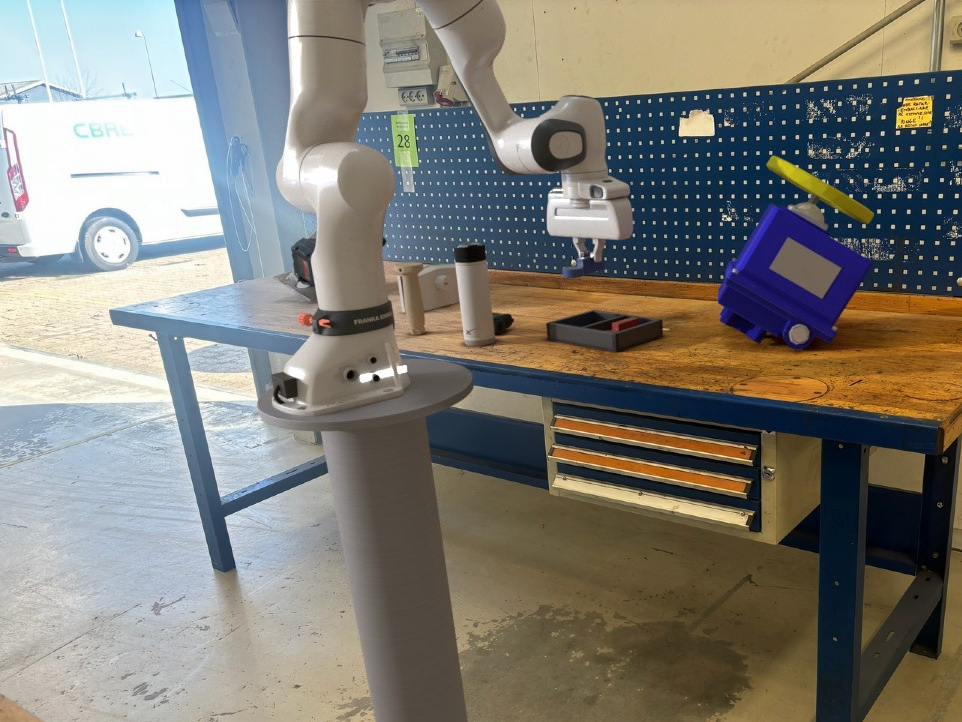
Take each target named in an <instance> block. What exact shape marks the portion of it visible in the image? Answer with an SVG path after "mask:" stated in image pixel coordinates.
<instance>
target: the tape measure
mask: <svg viewBox="0 0 962 722" xmlns="http://www.w3.org/2000/svg"><path fill="white" fill-rule="evenodd" d="M492 314H493V323H494V334H496V333H498V334H501V333H502V332H504V331H506V330H507V329H509V328H510V327H511V326H512V325H513V324H514V323H515V318H514V317H513V316H512V314H510V313H500V312H492Z"/></svg>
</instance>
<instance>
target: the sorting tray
mask: <svg viewBox="0 0 962 722" xmlns="http://www.w3.org/2000/svg"><path fill="white" fill-rule="evenodd" d="M631 317H635V318H639V325H638V326H635V327H631V328H628V329H625V330H622V331H619V332H615V333H614V332H608V331H607V330H612V323H614V322H617V321H621V320H624V319H627V318H631ZM545 325H546V326H545V327H546V338H547V341H551V342H559V343H564V344H570V345H575V346H580V347H586V348H591V349H595V350H602V351H608V352H614V353H618V352H621V351H624V350H627V349H630V348H632V347H636V346H639V345H642V344H645V343H648V342H651V341H654V340H656V339H659V338H663V337H664V329H663V325H664V324H663V319H662V318H654V317H647V316H640V315H633V314H628V313H627V314H626V313H620V312H611V311H605V310H600V309H599V310H598V309H597V310H596V309H592V310H588V311H584V312H581V313H576V314H573V315H570V316H569V315H568V316H566V317H563V318H559V319H556V320H551V321H548V322H546V323H545Z"/></svg>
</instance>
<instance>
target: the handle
mask: <svg viewBox="0 0 962 722" xmlns="http://www.w3.org/2000/svg"><path fill="white" fill-rule="evenodd" d="M423 266H424V263H423V262H417V261H416V262H415V261H411V262H410V261H408V262H400V263H399V262H398V263H394V264H393V268H394V271H395V272H396V273H397V274H399V275H402V280H403V289H404V302H405V311H406V313H405V316H406V321H407V326H408V327H409V332H410V334H411V335H412V336H417V335H418V336H419V335H423V334H425V333H426V327H425V325H426V319H425V317H426V316H425V311H424V307H423V301H422V296H421V291H420V286H419V280H418V273H420V272H421V271H422V270H423Z"/></svg>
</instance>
